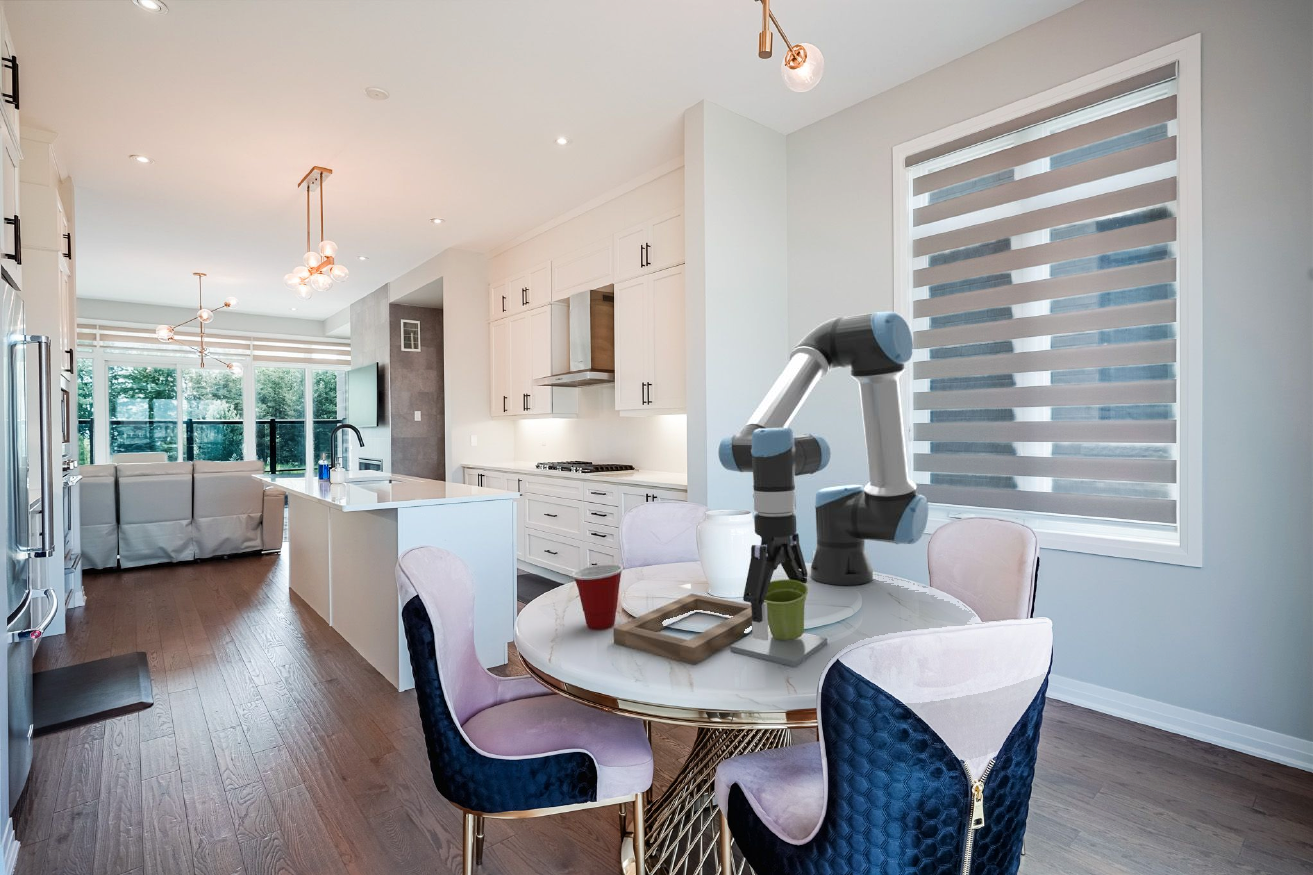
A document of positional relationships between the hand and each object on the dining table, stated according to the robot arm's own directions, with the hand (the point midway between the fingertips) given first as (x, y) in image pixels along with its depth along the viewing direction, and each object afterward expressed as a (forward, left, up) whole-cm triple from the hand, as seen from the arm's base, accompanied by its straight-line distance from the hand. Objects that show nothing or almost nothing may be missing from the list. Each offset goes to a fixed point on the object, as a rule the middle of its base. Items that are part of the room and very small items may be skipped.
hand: (778, 627), depth 119 cm
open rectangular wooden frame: (+2, -18, -4) cm, 18 cm away
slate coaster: (0, 0, -4) cm, 4 cm away
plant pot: (-4, 0, -2) cm, 4 cm away
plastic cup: (+9, -37, -4) cm, 38 cm away
